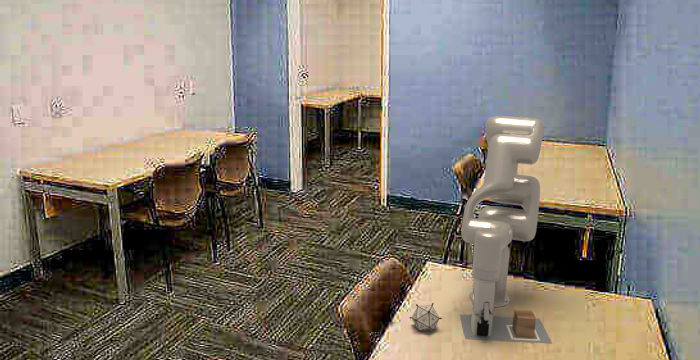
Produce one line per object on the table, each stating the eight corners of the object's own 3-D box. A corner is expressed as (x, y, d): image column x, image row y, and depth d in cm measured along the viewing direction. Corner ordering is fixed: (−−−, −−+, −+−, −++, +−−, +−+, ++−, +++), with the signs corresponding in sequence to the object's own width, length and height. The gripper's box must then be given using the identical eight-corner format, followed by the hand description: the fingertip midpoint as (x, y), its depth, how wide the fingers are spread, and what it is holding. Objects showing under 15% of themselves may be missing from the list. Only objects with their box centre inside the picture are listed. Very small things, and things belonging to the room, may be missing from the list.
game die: (428, 344, 167) (436, 331, 159) (402, 330, 169) (409, 315, 161) (440, 320, 172) (449, 305, 164) (415, 306, 174) (422, 291, 166)
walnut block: (512, 327, 168) (514, 309, 167) (529, 328, 168) (531, 310, 166) (515, 336, 163) (517, 317, 162) (533, 337, 163) (535, 318, 161)
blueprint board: (459, 316, 176) (459, 314, 175) (539, 320, 174) (539, 318, 174) (465, 341, 162) (465, 338, 162) (552, 346, 161) (552, 343, 160)
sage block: (470, 325, 169) (472, 307, 167) (488, 326, 169) (489, 308, 167) (473, 334, 164) (474, 315, 162) (490, 335, 164) (492, 316, 162)
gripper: (468, 259, 170) (463, 314, 175) (476, 284, 153) (471, 345, 158) (494, 260, 169) (489, 316, 174) (505, 286, 153) (499, 346, 158)
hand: (480, 329), depth 166 cm, fingers closed on sage block, 5 cm apart
